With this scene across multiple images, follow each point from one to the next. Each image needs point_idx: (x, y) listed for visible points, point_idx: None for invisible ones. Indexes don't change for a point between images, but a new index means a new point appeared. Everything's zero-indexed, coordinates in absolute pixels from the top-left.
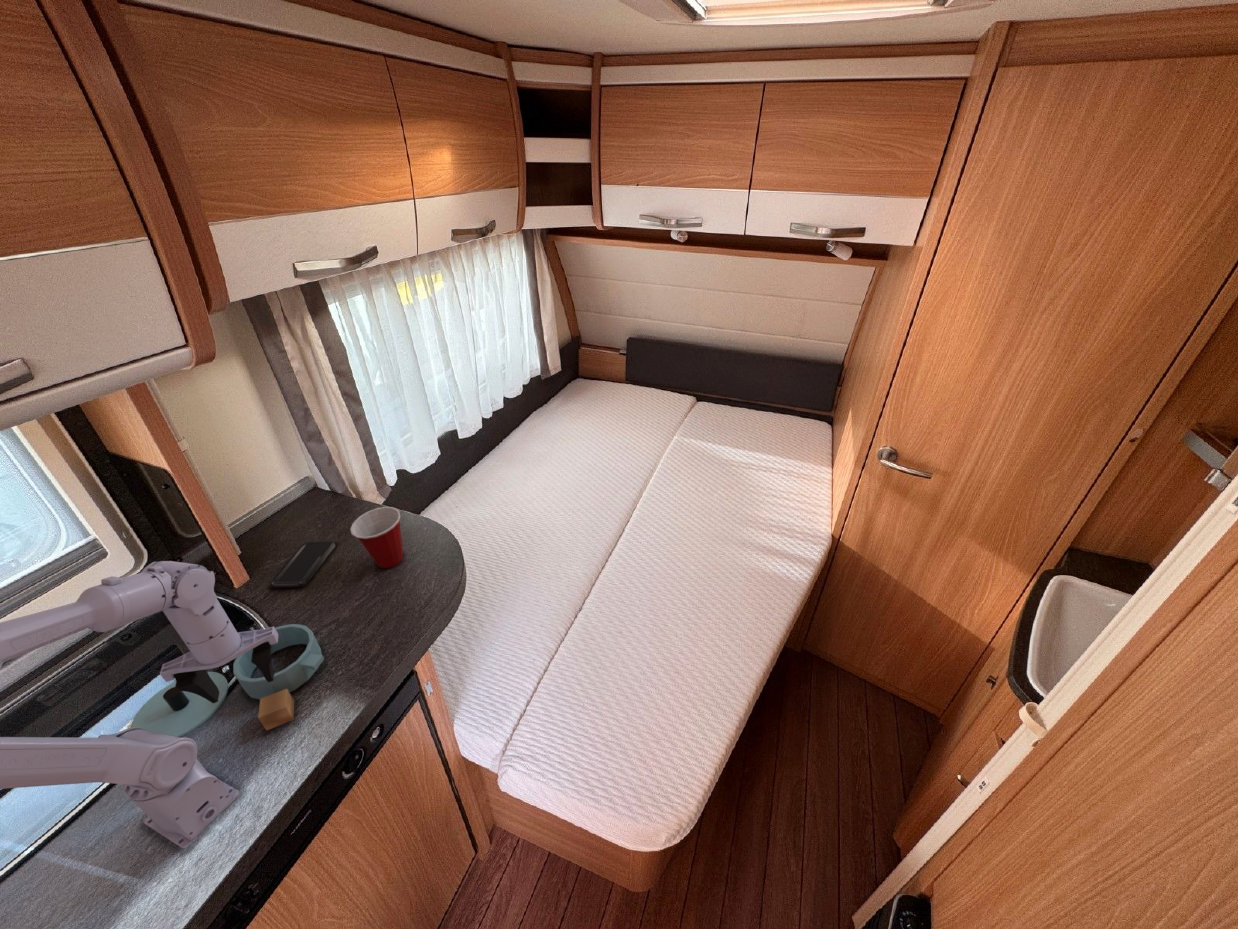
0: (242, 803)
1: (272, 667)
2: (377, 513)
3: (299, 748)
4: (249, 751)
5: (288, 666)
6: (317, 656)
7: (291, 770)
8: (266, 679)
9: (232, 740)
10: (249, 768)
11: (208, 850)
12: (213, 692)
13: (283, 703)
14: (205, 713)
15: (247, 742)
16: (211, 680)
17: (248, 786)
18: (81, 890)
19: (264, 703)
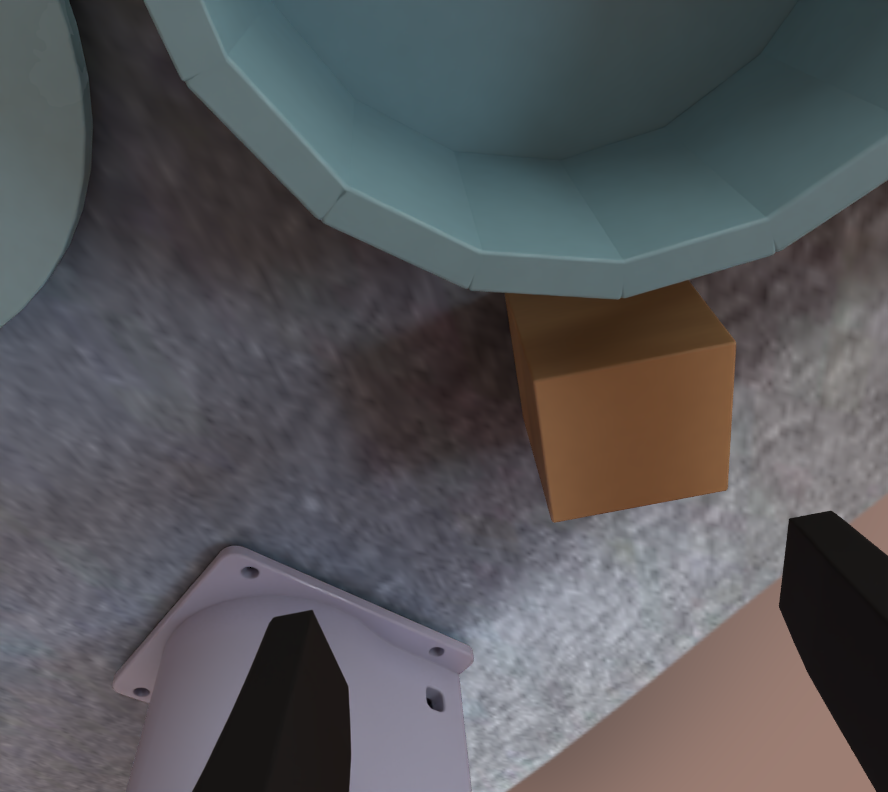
0: (490, 668)
1: (881, 554)
2: None
3: (697, 527)
4: (450, 492)
5: (824, 187)
6: None
7: (665, 601)
8: (813, 672)
9: (324, 414)
10: (477, 564)
11: None
12: (328, 759)
13: (713, 463)
14: (17, 220)
15: (421, 444)
16: (278, 777)
17: (495, 624)
18: (44, 785)
19: (575, 429)
